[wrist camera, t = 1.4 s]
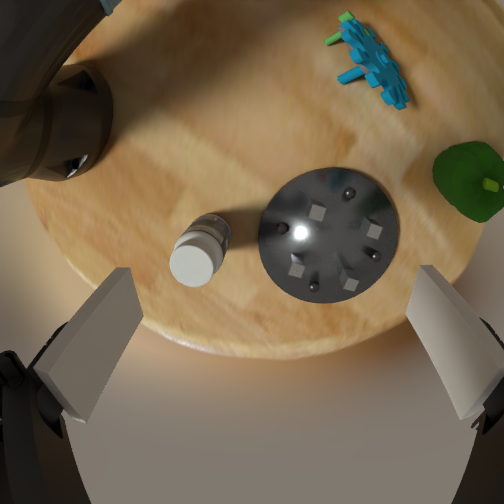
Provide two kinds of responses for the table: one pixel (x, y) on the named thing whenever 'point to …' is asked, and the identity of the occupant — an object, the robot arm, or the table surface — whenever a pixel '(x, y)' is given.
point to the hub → (327, 235)
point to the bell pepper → (471, 179)
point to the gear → (370, 61)
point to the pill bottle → (200, 250)
